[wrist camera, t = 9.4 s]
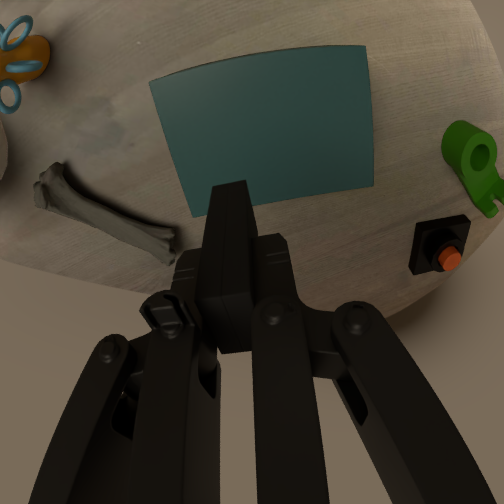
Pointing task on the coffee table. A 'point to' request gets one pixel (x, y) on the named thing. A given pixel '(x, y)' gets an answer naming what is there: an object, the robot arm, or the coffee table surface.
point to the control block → (437, 242)
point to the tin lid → (270, 124)
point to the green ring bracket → (474, 164)
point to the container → (3, 150)
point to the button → (449, 258)
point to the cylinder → (21, 59)
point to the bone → (101, 216)
